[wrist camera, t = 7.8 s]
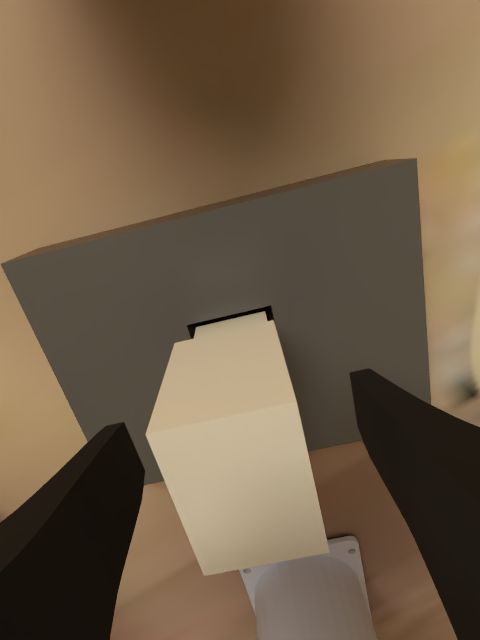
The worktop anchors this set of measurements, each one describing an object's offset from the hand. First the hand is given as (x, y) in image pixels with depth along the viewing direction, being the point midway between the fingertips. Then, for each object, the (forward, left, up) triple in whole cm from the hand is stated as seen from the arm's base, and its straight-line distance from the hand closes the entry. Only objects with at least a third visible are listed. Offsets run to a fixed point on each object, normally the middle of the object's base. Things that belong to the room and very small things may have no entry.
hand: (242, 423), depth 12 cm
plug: (0, 0, -5) cm, 5 cm away
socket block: (0, 0, -8) cm, 8 cm away
